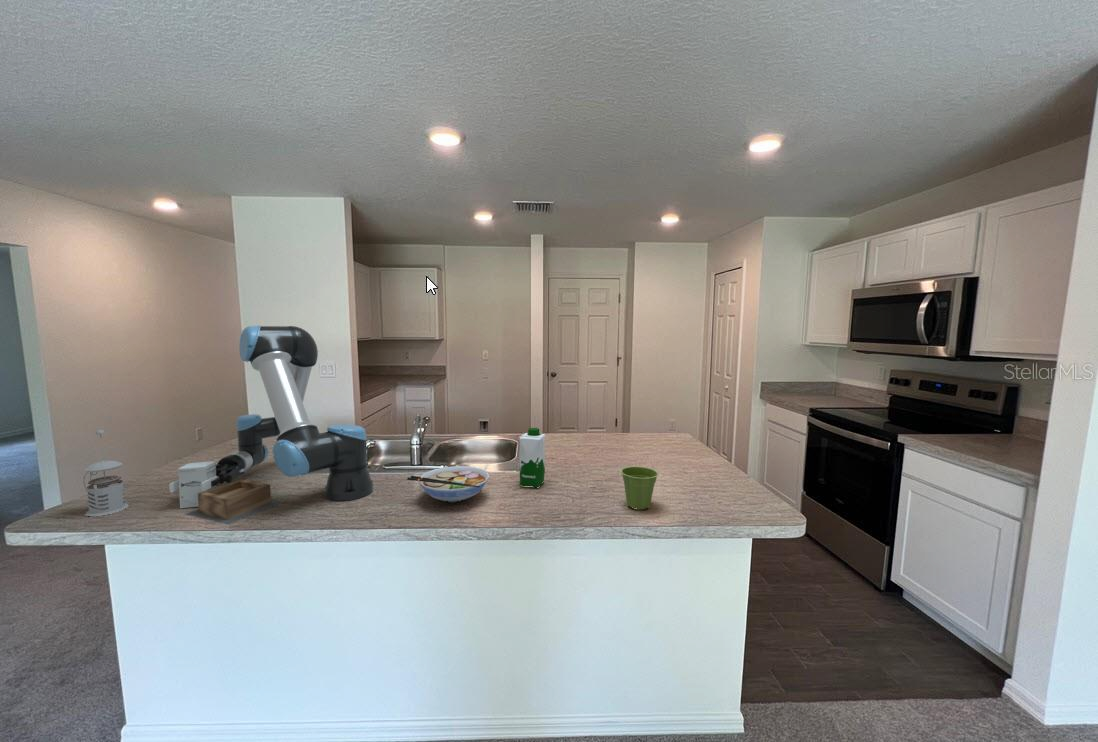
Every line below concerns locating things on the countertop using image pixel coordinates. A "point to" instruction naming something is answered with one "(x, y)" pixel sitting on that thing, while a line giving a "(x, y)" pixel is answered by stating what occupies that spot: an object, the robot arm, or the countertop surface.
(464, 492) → the ramen bowl
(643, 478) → the plant pot
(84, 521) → the countertop surface
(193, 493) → the supplement box
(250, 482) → the tray
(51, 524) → the countertop surface
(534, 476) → the milk carton
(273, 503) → the mat
